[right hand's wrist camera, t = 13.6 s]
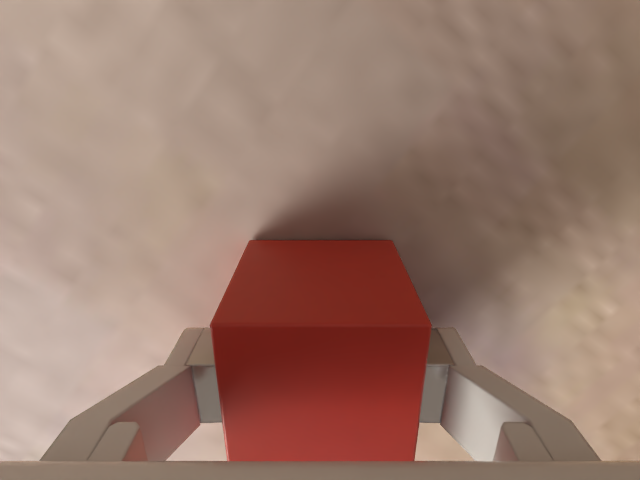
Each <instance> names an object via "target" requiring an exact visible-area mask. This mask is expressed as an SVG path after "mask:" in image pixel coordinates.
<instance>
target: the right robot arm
mask: <svg viewBox="0 0 640 480" xmlns="http://www.w3.org/2000/svg"><path fill="white" fill-rule="evenodd" d="M216 422H222V415H221V408H220V400H219V392H218V384H217V377H216V369H215V361H214V353H213V346H212V338H211V330H210V328H186V329H185V330H184V331H183V333H182V334H181V336H180V338H179V340H178V342H177V343H176V345H175V347H174V349H173V350H172V352H171V354H170V356H169V357H168V359H167V361H166V363H165V364H164V366H157V367H155V368H154V369H152V370H151V371H149V372H147V373H146V374H144V375H142V376H141V377H139V378H138V379H136V380H134V381H133V382H131V383H129V384H128V385H126V386H125V387H123V388H121V389H120V390H118V391H117V392H115V393H113V394H112V395H110V396H108V397H107V398H105V399H104V400H102V401H100V402H99V403H97V404H95V405H94V406H92V407H91V408H89V409H87V410H86V411H84V412H82V413H81V414H79V415H78V416H76V417H74V418H73V419H71V420H70V421H69V422H68V424H67V425H66V426H65V428H64V429H63V430H62V432H61V433H60V434H59V436H58V437H57V438H56V439H55V441H54V442H53V443H52V445H51V446H50V447H49V449H48V450H47V451H46V453H45V454H44V455H43V457H42V458H41V459H40V461H0V480H640V461H601V460H600V458H599V457H598V456H597V454H596V453H595V452H594V450H593V449H592V448H591V446H590V445H589V444H588V442H587V441H586V440H585V438H584V437H583V436H582V434H581V433H580V432H579V430H578V429H577V428H576V426H575V425H574V424H573V422H572V421H571V420H569V419H568V418H566V417H564V416H563V415H561V414H560V413H558V412H556V411H555V410H553V409H551V408H550V407H548V406H547V405H545V404H543V403H542V402H540V401H538V400H537V399H535V398H534V397H532V396H530V395H529V394H527V393H526V392H524V391H522V390H521V389H519V388H517V387H516V386H514V385H513V384H511V383H509V382H508V381H506V380H505V379H503V378H501V377H500V376H498V375H496V374H495V373H493V372H492V371H490V370H488V369H487V368H485V367H483V366H477V365H476V364H475V362H474V360H473V358H472V357H471V355H470V353H469V351H468V350H467V348H466V346H465V344H464V343H463V341H462V339H461V338H460V336H459V334H458V332H457V331H456V329H455V328H453V327H449V328H431V335H430V343H429V351H428V358H427V366H426V374H425V382H424V389H423V397H422V405H421V413H420V420H419V422H424V423H440V425H441V426H442V427H443V428H444V429H445V430H446V431H447V432H448V433H449V434H450V435H451V436H452V437H453V438H454V439H455V440H456V441H457V442H458V443H459V444H460V445H461V446H462V447H463V448H464V449H465V450H466V452H467V453H468V454H469V455H470V456H471V457H472V458H473V459H474V460H475V461H165V460H166V459H167V458H168V457H169V456H170V455H171V454H172V453H173V452H174V451H175V450H176V449H177V448H178V447H179V446H180V445H181V444H182V443H183V442H184V441H185V440H186V439H187V438H188V437H189V436H190V435H191V434H192V433H193V432H194V431H195V430H196V429H197V428H198V427H199V426H200V423H216Z"/></svg>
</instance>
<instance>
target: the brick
mask: <svg viewBox="0 0 640 480" xmlns="http://www.w3.org/2000/svg"><path fill="white" fill-rule="evenodd" d="M431 328H432V325H431V323H430V320H429V318H428V316H427V314H426V312H425V310H424V308H423V305H422V303H421V301H420V299H419V297H418V295H417V293H416V290H415V288H414V286H413V284H412V282H411V280H410V278H409V275H408V273H407V271H406V269H405V267H404V265H403V263H402V261H401V258H400V256H399V254H398V252H397V250H396V248H395V246H394V243H393V241H391V240H250V241H249V242H248V245H247V247H246V249H245V251H244V253H243V255H242V257H241V260H240V262H239V264H238V266H237V268H236V270H235V272H234V275H233V277H232V279H231V281H230V283H229V285H228V287H227V290H226V292H225V294H224V296H223V298H222V300H221V302H220V305H219V307H218V309H217V311H216V313H215V315H214V317H213V320H212V322H211V324H210V330H211V338H212V346H213V353H214V361H215V369H216V377H217V384H218V392H219V400H220V408H221V415H222V423H223V431H224V439H225V446H226V454H227V461H414V459H415V451H416V443H417V436H418V428H419V420H420V413H421V405H422V397H423V389H424V382H425V374H426V366H427V358H428V351H429V343H430V335H431Z"/></svg>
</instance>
